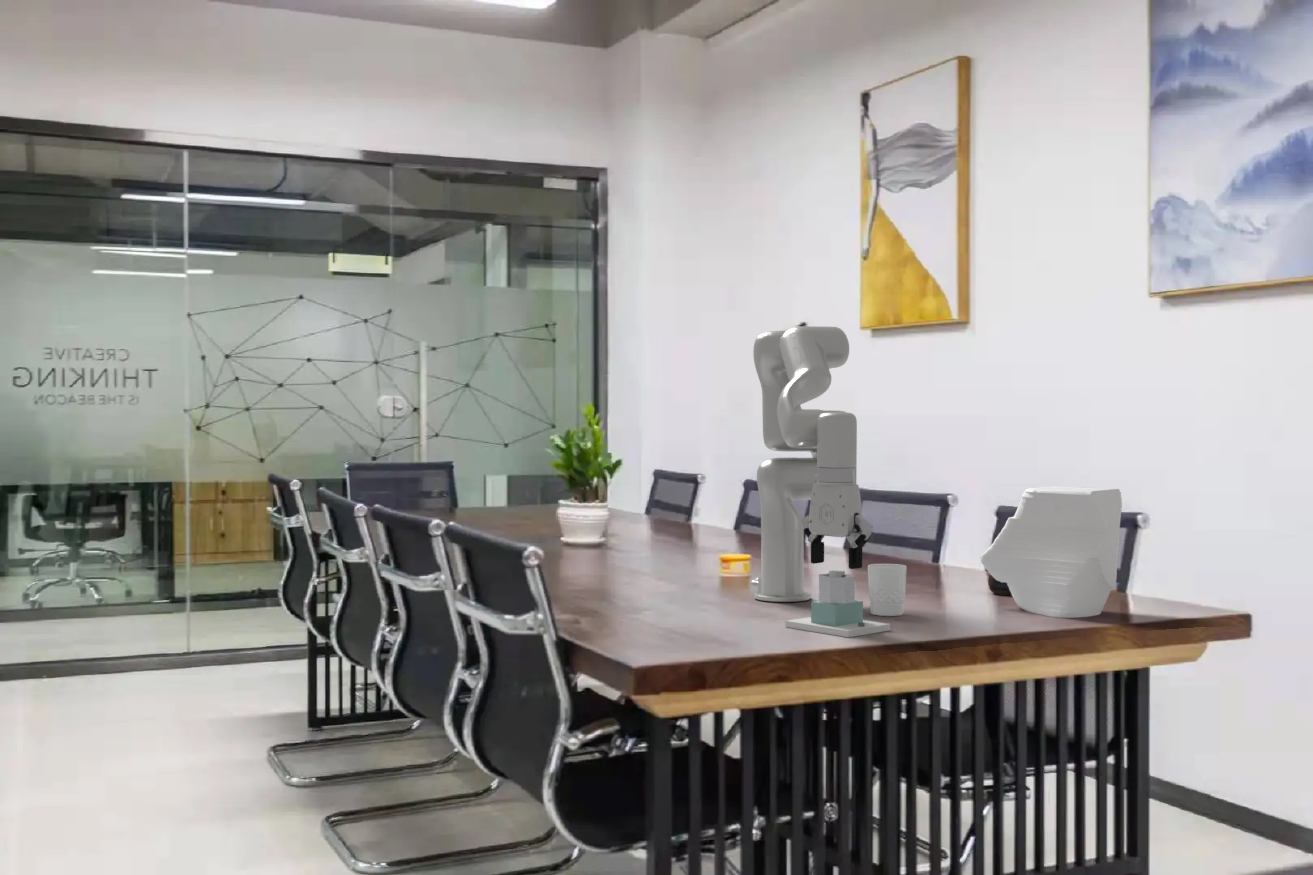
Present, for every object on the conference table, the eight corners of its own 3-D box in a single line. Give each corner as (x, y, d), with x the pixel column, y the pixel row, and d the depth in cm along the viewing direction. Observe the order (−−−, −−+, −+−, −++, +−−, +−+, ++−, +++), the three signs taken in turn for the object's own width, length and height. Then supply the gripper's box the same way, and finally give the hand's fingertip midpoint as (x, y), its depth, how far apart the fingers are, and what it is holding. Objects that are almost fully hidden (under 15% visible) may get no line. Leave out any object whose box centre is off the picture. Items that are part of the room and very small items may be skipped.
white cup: (880, 617, 258) (880, 568, 258) (860, 612, 266) (860, 564, 266) (914, 615, 261) (914, 566, 261) (893, 610, 269) (893, 562, 269)
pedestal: (785, 626, 247) (785, 570, 247) (827, 620, 255) (827, 565, 255) (847, 637, 235) (847, 577, 235) (890, 630, 242) (890, 572, 242)
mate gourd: (1020, 592, 296) (1020, 549, 296) (1021, 596, 289) (1021, 552, 289) (988, 591, 298) (988, 548, 298) (988, 595, 291) (988, 552, 291)
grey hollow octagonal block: (812, 601, 245) (812, 575, 245) (835, 598, 249) (835, 572, 249) (838, 604, 240) (838, 578, 240) (861, 601, 244) (861, 575, 244)
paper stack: (1079, 622, 252) (1079, 492, 252) (976, 606, 274) (976, 486, 274) (1147, 613, 263) (1147, 488, 263) (1042, 598, 286) (1042, 483, 286)
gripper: (790, 475, 249) (789, 562, 249) (858, 480, 236) (857, 572, 236) (816, 473, 254) (816, 559, 254) (884, 478, 240) (883, 568, 241)
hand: (836, 565), depth 245 cm, fingers open, 9 cm apart
